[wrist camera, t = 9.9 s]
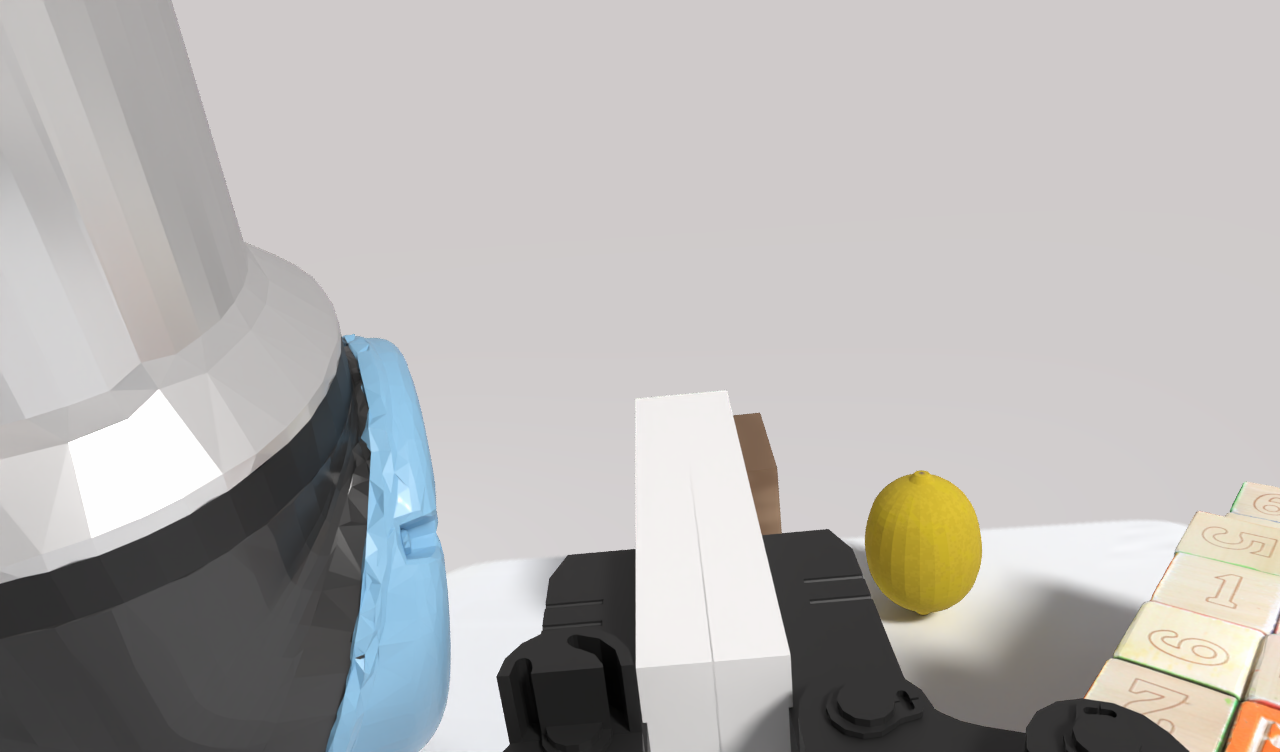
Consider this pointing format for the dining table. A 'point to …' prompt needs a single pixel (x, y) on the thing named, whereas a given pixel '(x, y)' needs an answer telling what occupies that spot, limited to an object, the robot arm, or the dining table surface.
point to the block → (760, 471)
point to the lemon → (923, 543)
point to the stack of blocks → (1210, 634)
